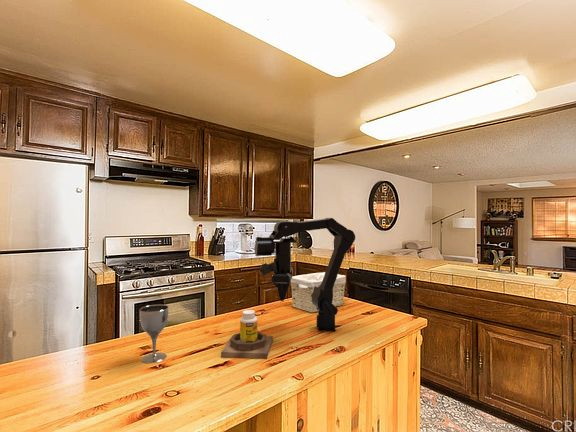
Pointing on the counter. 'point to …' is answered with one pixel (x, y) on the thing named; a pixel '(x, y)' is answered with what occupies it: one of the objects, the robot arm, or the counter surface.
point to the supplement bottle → (248, 327)
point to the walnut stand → (248, 347)
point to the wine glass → (154, 328)
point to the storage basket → (305, 287)
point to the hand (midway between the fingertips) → (283, 297)
